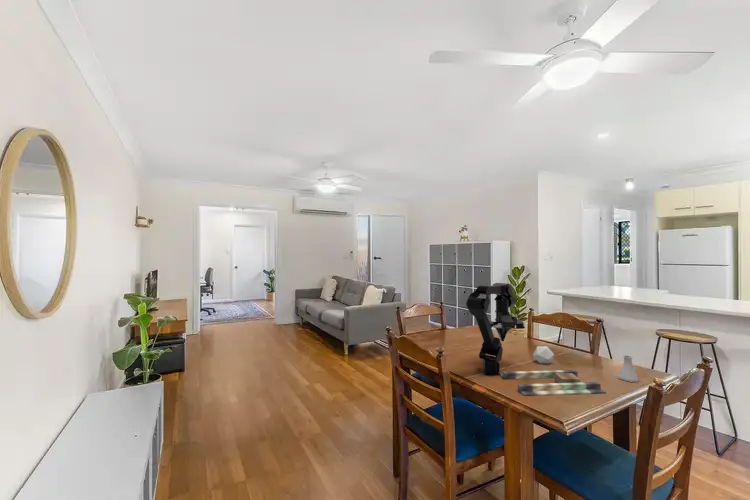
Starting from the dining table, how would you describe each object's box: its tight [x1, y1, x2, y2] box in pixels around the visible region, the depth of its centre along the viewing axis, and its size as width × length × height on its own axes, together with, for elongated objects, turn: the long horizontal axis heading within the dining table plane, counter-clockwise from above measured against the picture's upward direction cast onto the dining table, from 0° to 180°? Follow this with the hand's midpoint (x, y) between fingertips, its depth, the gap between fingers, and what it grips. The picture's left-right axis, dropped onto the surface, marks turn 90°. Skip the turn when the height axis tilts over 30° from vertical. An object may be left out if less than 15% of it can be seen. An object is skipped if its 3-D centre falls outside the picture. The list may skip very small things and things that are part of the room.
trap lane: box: [499, 369, 607, 397], centre depth 143 cm, size 33×22×2 cm, turn 94°
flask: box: [617, 354, 639, 383], centre depth 148 cm, size 7×7×10 cm
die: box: [532, 345, 555, 365], centre depth 170 cm, size 8×9×10 cm
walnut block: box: [554, 373, 581, 383], centre depth 142 cm, size 7×7×4 cm
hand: (502, 341), depth 165 cm, fingers closed
